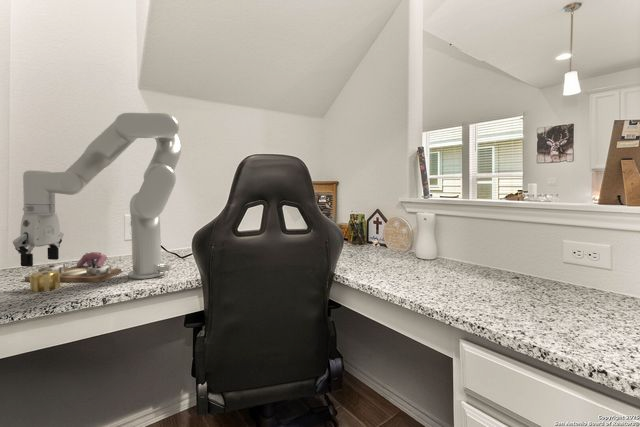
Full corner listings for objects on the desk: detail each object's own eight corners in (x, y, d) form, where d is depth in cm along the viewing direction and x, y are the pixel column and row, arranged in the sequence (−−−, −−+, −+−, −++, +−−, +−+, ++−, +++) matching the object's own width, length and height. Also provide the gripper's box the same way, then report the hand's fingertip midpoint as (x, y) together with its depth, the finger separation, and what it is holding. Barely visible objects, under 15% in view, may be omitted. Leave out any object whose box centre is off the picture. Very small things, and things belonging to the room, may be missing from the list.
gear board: (121, 272, 122) (120, 256, 122) (100, 282, 111) (99, 263, 110) (53, 271, 122) (52, 255, 122) (25, 281, 110) (23, 262, 110)
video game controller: (105, 270, 131) (110, 253, 134) (97, 267, 127) (102, 250, 129) (83, 269, 132) (88, 252, 135) (74, 266, 128) (80, 249, 130)
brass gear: (65, 284, 107) (65, 270, 107) (47, 292, 100) (46, 276, 99) (44, 284, 107) (43, 269, 107) (24, 291, 100) (23, 275, 99)
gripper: (27, 212, 92) (28, 269, 94) (72, 208, 110) (72, 257, 111) (0, 210, 92) (2, 268, 93) (50, 207, 109) (51, 256, 111)
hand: (40, 262), depth 102 cm, fingers open, 9 cm apart
